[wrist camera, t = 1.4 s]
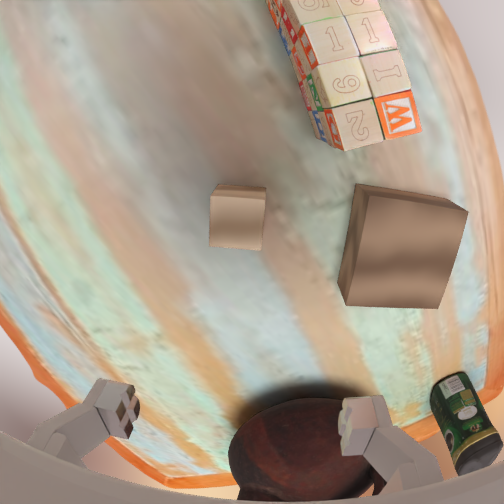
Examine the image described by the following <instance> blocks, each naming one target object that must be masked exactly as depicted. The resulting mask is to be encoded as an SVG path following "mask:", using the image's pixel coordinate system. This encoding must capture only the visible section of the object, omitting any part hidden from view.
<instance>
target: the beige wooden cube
mask: <svg viewBox="0 0 504 504" xmlns="http://www.w3.org/2000/svg"><path fill="white" fill-rule="evenodd" d="M265 201H266V188H262V187H250V186H236V185H221V184H218V186H217V187H216V189H215V190H214V191H213V193H212V194H211V196H210V232H209V246H212V247H224V248H236V249H248V250H260V251H261V247H262V236H263V224H264V213H265Z"/></svg>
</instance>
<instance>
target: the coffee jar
mask: <svg viewBox="0 0 504 504" xmlns="http://www.w3.org/2000/svg"><path fill="white" fill-rule="evenodd" d="M431 410H432V412H433V414H434V416H435V419H436V421H437V423H438V425H439V427H440V429H441V432H442V434H443V436H444V438H445V441H446V443H447V446H448V449H449V451H450V454H451V457H452V460H453V464H454V467H455V470H456V472H457V474H458V476H462V475H465V474H468V473H471V472H474V471H477V470H479V469H482V468H485V467H488V466H490V465H491V464H492V463H493V461H494V460H495V459H496V457H497V456H498V454H499V452H500V451H501V449H502V447H503V442H502V441H501V438H500V435H499V433H498V431H497V430H496V429H495V428H494V426H493V425H492V423H491V421H490V420H489V418H488V416H487V414H486V412H485V409H484V407H483V405H482V403H481V401H480V399H479V397H478V395H477V393H476V391H475V389H474V387H473V385H472V383H471V381H470V379H469V378H468V376H467V375H466V374H465V373H459V374H454V375H451V376H449V377H447V378H445V379H444V380H442V381H441V382H440V383H438V384H437V385H436V386H435V387H434V389H433V392H432V396H431Z"/></svg>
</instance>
